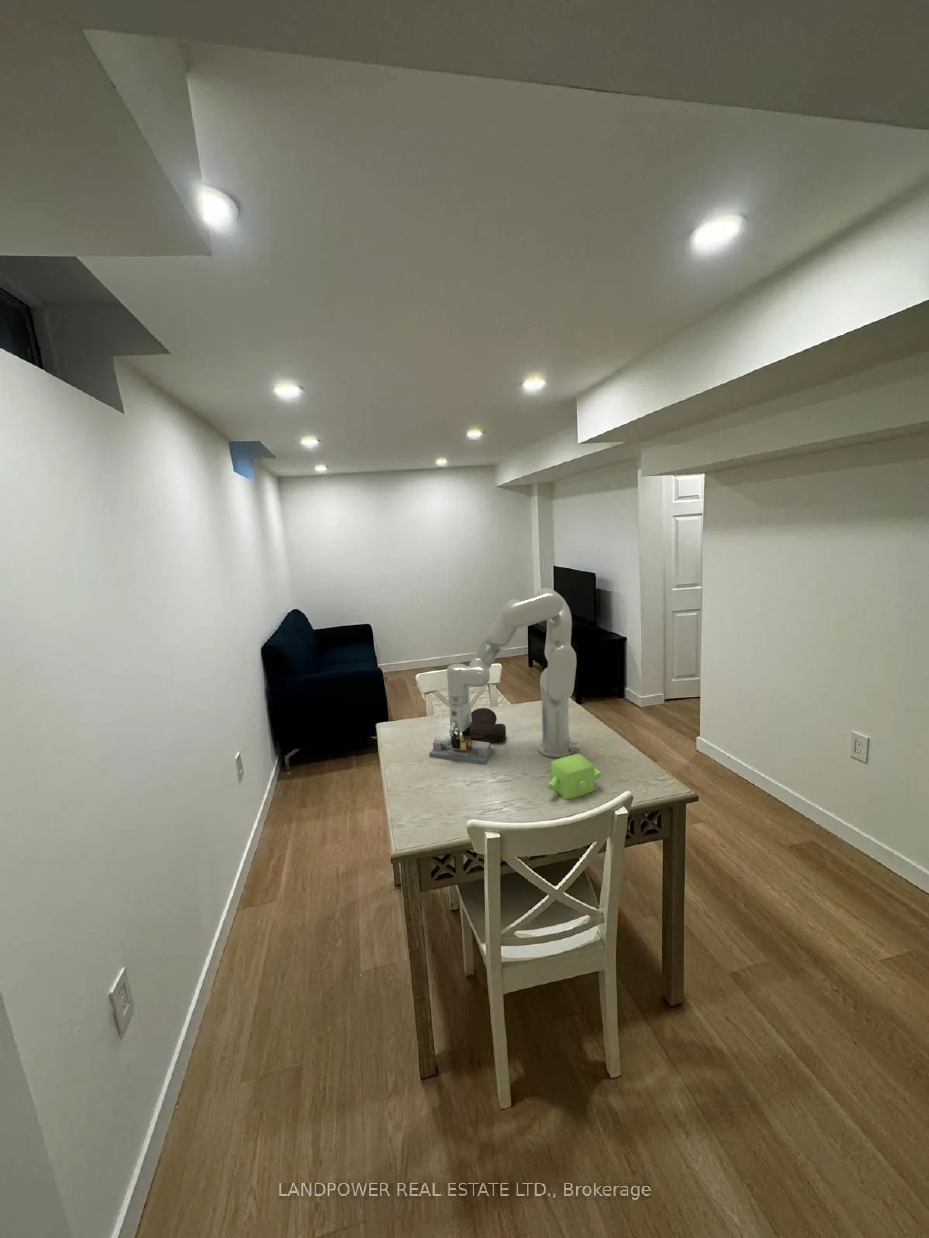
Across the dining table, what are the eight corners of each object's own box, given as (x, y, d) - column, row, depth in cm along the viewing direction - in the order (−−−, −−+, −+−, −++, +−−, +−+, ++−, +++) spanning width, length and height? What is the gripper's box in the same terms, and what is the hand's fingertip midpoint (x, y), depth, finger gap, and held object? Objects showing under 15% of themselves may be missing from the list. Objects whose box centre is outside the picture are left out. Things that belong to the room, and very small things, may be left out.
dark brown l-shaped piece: (503, 727, 185) (505, 706, 199) (464, 729, 187) (468, 708, 201) (506, 748, 188) (507, 726, 202) (467, 750, 191) (471, 728, 205)
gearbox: (555, 808, 145) (555, 779, 143) (538, 790, 154) (538, 763, 152) (605, 792, 152) (606, 764, 150) (586, 776, 161) (586, 750, 158)
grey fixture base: (494, 752, 181) (494, 737, 180) (485, 764, 172) (484, 749, 171) (440, 745, 190) (440, 730, 189) (429, 756, 181) (428, 741, 180)
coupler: (473, 749, 181) (473, 736, 180) (469, 754, 177) (468, 741, 176) (455, 746, 184) (454, 734, 183) (450, 752, 180) (449, 739, 179)
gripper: (459, 707, 168) (461, 754, 171) (477, 691, 183) (479, 734, 187) (439, 705, 170) (442, 751, 174) (458, 689, 186) (461, 731, 189)
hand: (461, 742), depth 180 cm, fingers open, 9 cm apart
